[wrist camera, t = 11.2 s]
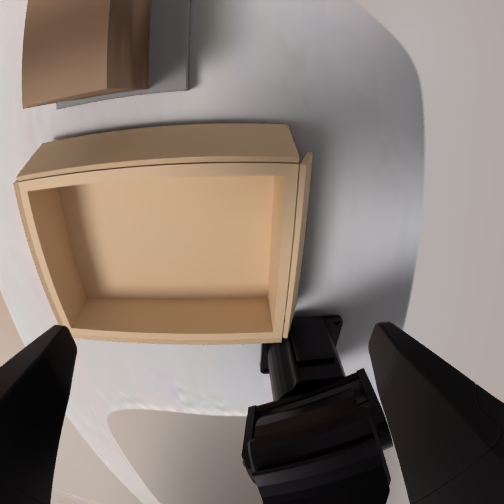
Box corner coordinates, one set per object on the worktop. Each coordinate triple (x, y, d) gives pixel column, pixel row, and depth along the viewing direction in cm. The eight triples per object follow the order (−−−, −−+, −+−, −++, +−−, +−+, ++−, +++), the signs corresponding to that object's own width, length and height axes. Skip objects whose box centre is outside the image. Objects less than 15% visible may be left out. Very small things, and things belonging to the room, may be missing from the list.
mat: (188, 90, 15) (185, 90, 14) (64, 107, 14) (56, 109, 13) (192, -30, 11) (190, -36, 10) (68, -4, 10) (61, -8, 9)
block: (148, 89, 14) (106, 88, 8) (83, 98, 13) (22, 108, 8) (154, -29, 10) (122, -74, 5) (89, -14, 10) (37, -44, 4)
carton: (292, 314, 23) (302, 352, 20) (75, 313, 22) (57, 346, 18) (311, 124, 16) (333, 134, 13) (31, 145, 15) (-5, 160, 11)
